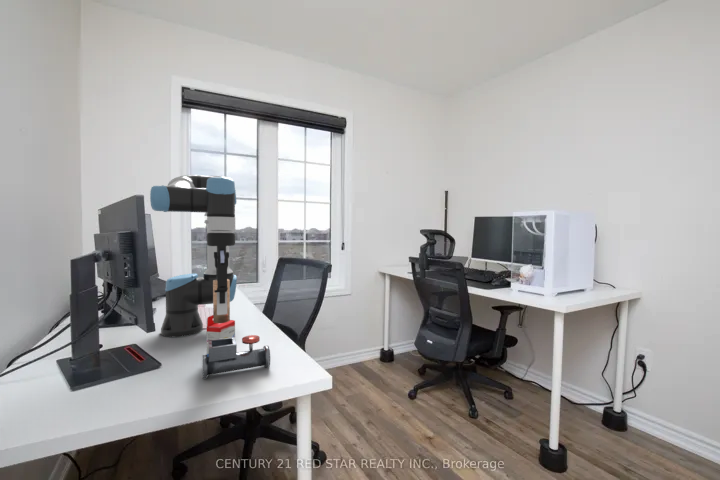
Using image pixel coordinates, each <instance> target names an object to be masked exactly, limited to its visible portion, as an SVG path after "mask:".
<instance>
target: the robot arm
mask: <svg viewBox="0 0 720 480" xmlns="http://www.w3.org/2000/svg"><path fill="white" fill-rule="evenodd" d="M235 185H236V184H235V181H234V180H233V178H232V177H227V176H222V175H221V176H220V175H219V176H218V175H207V174H206V175H203V174H186V175H185V174H184V175H181V176H177V177H174V178H172V179H171V180H170V181H169V182H168V183H167V185H153V186H151V189H150V191H149V196H150V198H149V199H150V208H151V209H152V210H153V211H155V212H164V213H169V212H172V213H173V212H174V213H176V212H177V213H179V212H180V213H206V219H205V220H204V224H206V230H207V231H206V233H207V234H206V247H207V253H206V255H207V257H206V258H207V260H206V261H207V263H206V265H207V268H206V269H205V270H204V272H203V276H199V274H198V273H185V274H179V275H176V276H172V277H169V278H168V279H167V280H166V281H165V289H164V291H165V316H164V319H163V322H162V325H161V327H160V335H161V336H162V337H165V338H179V337H186V336H191V335H195V334H197V333H200V332H202V331H203V327H204V324H203V321H202V318H201V316H200V315H201V314H200V313H199V306H201V305H213V280H216V279H217V290H214V292H217V315H224V314H227V290H228V287H227V279H229V280H230V303H231V302H233V301H234V299H235V296H236V291H237V289H236V288H237V282H238V281H237V278H238V277H237V275H235V274H234V271H233V270H232V268H231V267H230V247H233V246H235V245H236V233H234V232H235V231H236V204H237V194H236V193H237V192H236V187H235Z"/></svg>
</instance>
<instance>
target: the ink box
mask: <svg viewBox="0 0 720 480" xmlns="http://www.w3.org/2000/svg"><path fill="white" fill-rule="evenodd" d="M230 337H235V338H236V320H233V319H230V321H229V322H226V323H214V322H213V314H212V315H209V316H207V319H206V355H207V357H209V340H215V339H222V338H230Z"/></svg>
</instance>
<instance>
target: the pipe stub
mask: <svg viewBox="0 0 720 480" xmlns="http://www.w3.org/2000/svg"><path fill="white" fill-rule="evenodd" d="M227 287H228V290H227V314H224V315H217V292H214V290H217V279H216V280H213V304H212V305H213V307H212V308H213V311H212V313H213V314H212V315H213V322H214V323H226V322H229V321H230V320H231V310H230V309H231V306H230V305H231V304H230V303H231V302H230V280H229V279H227Z"/></svg>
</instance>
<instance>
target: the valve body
mask: <svg viewBox="0 0 720 480" xmlns="http://www.w3.org/2000/svg"><path fill="white" fill-rule="evenodd" d="M259 342H260V336H259V335H257V334H256V335H255V334H251V335H250V334H249V335H246V336H243V337H242V338H241V343H242V344H243V345H249V346H248V348H249V349H248V350H245V351H237V348H238V347H237V342H236V336H235V337H230V338H222V339H215V340H209V357H207V354H202V379H203V380H204V379H208V376H213V375H218V374H223V373H229V372H235V371H240V370H246V369H252V368H258V367H264V368H265V369H266V368H270V366H271V350H270V346H269V345H263V347H262V348H257V349H253V348H254V347H253V346H254V345H255V344H257V343H259Z"/></svg>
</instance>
